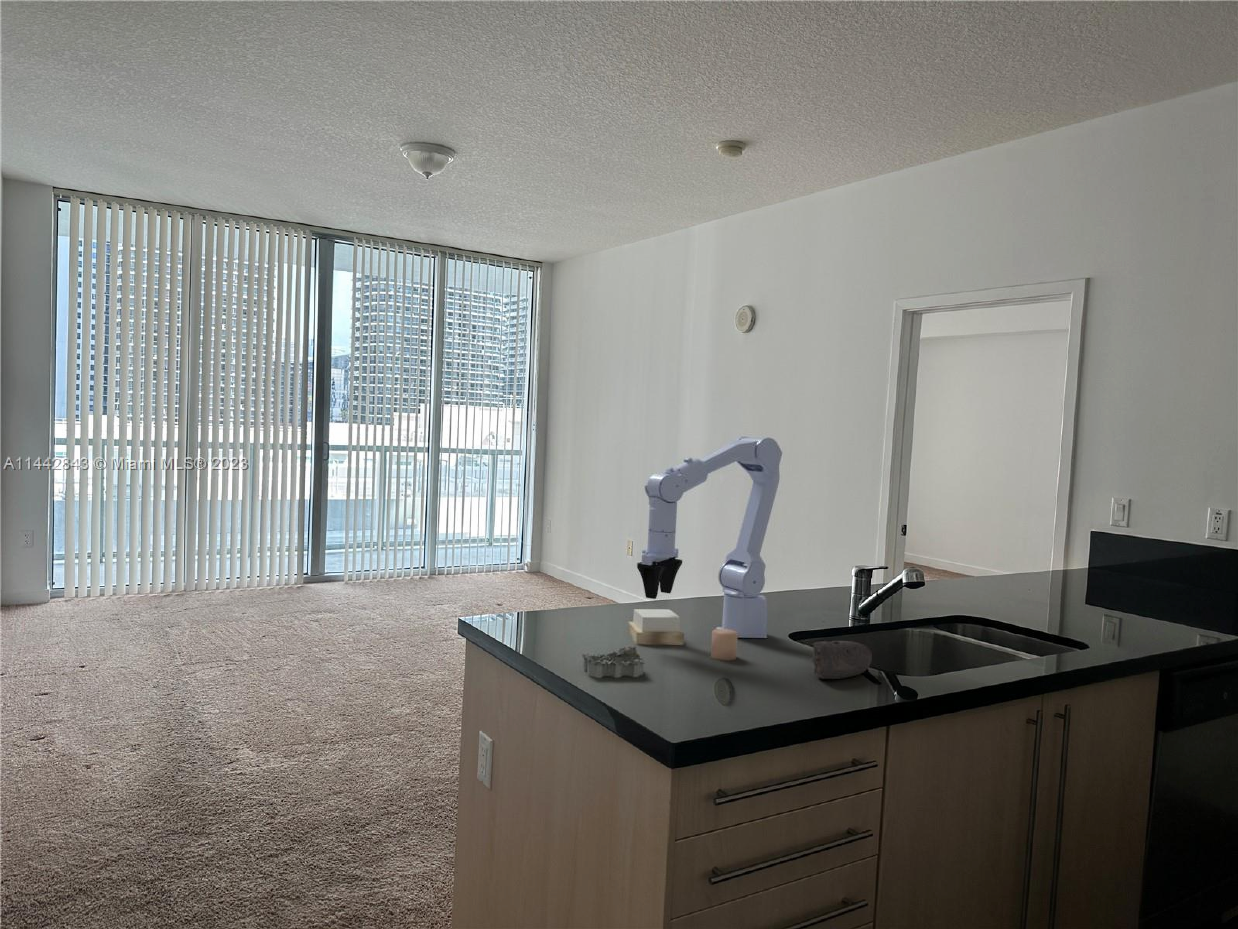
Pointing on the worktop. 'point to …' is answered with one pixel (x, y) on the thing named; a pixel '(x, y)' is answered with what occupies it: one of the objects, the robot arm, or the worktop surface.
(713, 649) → the cylinder
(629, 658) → the grey carved stone fragment
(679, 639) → the tower base
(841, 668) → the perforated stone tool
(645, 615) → the tower top
